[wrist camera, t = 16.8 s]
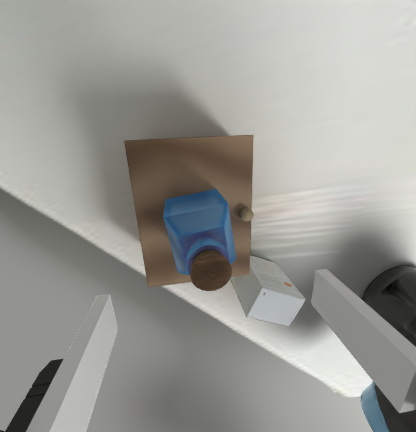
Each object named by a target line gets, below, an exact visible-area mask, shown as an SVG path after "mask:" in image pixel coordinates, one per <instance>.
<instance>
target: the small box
mask: <svg viewBox="0 0 416 432" xmlns="http://www.w3.org/2000/svg"><path fill="white" fill-rule="evenodd" d="M230 279H231V281H232V284H233V286H234V289H235V291H236V293H237V296H238V298H239V301H240V303H241V305H242V308H243V310H244V312H245V315H246V317H248V318H253V319H257V320H262V321H267V322H271V323H275V324H280V325H284V326H289V325H290V324H291V323H292V321H293V319H294V318H295V316H296V315H297V313H298V312H299V310H300V308H301V307H302V305H303V304H304V302H305V300H306V299H305V297H304V296H303V295H302V294H301V293H300V291H299V290H298V289H297V288H296V286H295V285H294V284H293V283H292V282H291V280H290V279H289V278H288V277H287V276H286V274H285V273H284V272H283V271H282V269H281V268H280V267H279V266H278V265H277V263H274V262H271V261H268V260H264V259H261V258H258V257H255V256H252V255H250V275H243V276H235V277H231V278H230Z"/></svg>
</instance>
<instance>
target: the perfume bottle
mask: <svg viewBox="0 0 416 432" xmlns="http://www.w3.org/2000/svg"><path fill="white" fill-rule="evenodd" d="M163 218H164V222H165V226H166V229H167V233H168V237H169V241H170V244H171V248H172V252H173V256H174V259H175V263H176V267H177V270H178V273H181V274H185V275H190V278H191V281H192V283H193V284H194V285H195V286H196V287H197V288H199V289H201V290H205V291H213V290H217V289H220V288H222V287H223V286H224V285H226V284H227V282H228V281H229V280H230V278H231V275H232V267H231V264H232V263H233V262H234V261H235V260H236V253H235V246H234V240H233V233H232V226H231V220H230V213H229V206H228V203H227V201H226V200H225V199H224V198H223V196H222V195H221V194H220V193H219V191H218V190H217V189H212V190H208V191H203V192H198V193H193V194H189V195H184V196H179V197H174V198H170V199H166V200H165V207H164V215H163Z"/></svg>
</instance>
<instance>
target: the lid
mask: <svg viewBox="0 0 416 432" xmlns="http://www.w3.org/2000/svg"><path fill="white" fill-rule="evenodd" d="M124 142H125V148H126V155H127V161H128V167H129V173H130V179H131V185H132V191H133V197H134V203H135V210H136V216H137V222H138V228H139V234H140V240H141V246H142V252H143V259H144V265H145V271H146V277H147V283H148V287H154V286H162V285H170V284H178V283H186V282H192V281H191V278H190V275H185V274H181V273H178V270H177V267H176V263H175V259H174V256H173V252H172V248H171V244H170V241H169V237H168V233H167V229H166V226H165V222H164V218H163V215H164V207H165V200H166V199H170V198H174V197H179V196H184V195H189V194H193V193H198V192H203V191H208V190H212V189H217V190H218V191H219V193H220V194H221V195H222V196H223V198H224V199H225V200H226V201H227V203H228V206H229V213H230V220H231V226H232V233H233V240H234V246H235V253H236V260H235V261H234V262H233V263H232V264H231V267H232V275H231V277H235V276H243V275H250V240H251V219H252V218H253V212H252V211H251V203H252V167H253V135H236V136H214V137H193V138H171V139H149V140H127V141H124Z"/></svg>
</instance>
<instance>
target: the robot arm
mask: <svg viewBox="0 0 416 432" xmlns="http://www.w3.org/2000/svg"><path fill="white" fill-rule="evenodd" d="M311 304H312V306H313V307H314V308H315V309H316V311H317V312H318V313H319V314H320V316H321V317H322V318H323V319H324V320H325V322H326V323H327V324H328V325H329V327H330V328H331V329H332V330H333V332H334V333H335V334H336V335H337V337H338V338H339V339H340V340H341V342H342V343H343V344H344V345H345V347H346V348H347V349H348V350H349V351H350V353H351V354H352V355H353V356H354V358H355V359H356V360H357V361H358V363H359V364H360V365H361V366H362V368H363V369H364V370H365V371H366V373H367V374H368V375H369V376H370V378H371V379H372V380H373V382H372V384H371V385H370V386H369V387H367V388H366V389H365V390H364V391H363V392H362V394H361V404H362V409H363V411H364V414H365V416H366V419H367V421H368V423H369V425H370V427H371V429H372V430H373V432H416V268H415V267H412V266H399V267H395V268H392V269H390V270H388V271H386V272H384V273H383V274H381V275H380V276H378V277H377V278H376V279H375V280H374V281H373V282H372V283H371V284H370V286H369V287H368V288H367V290H366V292H365V294H364V297H363V300H362V299H360V298H359V297H358V296H357V295H356V294H355V293H354V292H352V291H351V290H350V289H349V288H348V287H347V286H346V285H344V284H343V283H342V282H341V281H340V280H339V279H338V278H336V277H335V276H334V275H333V274H332V273H331V272H330V271H328V270H327V269H319V270H316V271H315V278H314V285H313V292H312V299H311ZM117 331H118V327H117V322H116V318H115V314H114V310H113V306H112V301H111V297H110V294H105V295H97V296H96V298H95V299H94V301H93V303H92V305H91V307H90V309H89V311H88V313H87V315H86V317H85V319H84V321H83V322H82V325H81V326H80V328H79V330H78V332H77V334H76V336H75V338H74V340H73V342H72V344H71V346H70V348H69V349H68V351H67V353H66V355H65V358H64V359H59V360H53V361H50V362H49V363H48V365H47V366H46V367H45V368H44V369H43V370H42V371H41V372H40V373H39V375H38V377H37V378H36V380H35V382H34V383H33V385H32V388H30V390H29V392H28V393H27V395H26V398H25V399H24V400H23V402H22V404H21V405H20V407H19V409H18V411H17V412H16V414H15V416H14V417H13V419H12V421H11V422H10V424H9V426H8V427H7V429H6V431H5V432H86V430H87V427H88V424H89V421H90V418H91V414H92V411H93V408H94V405H95V402H96V398H97V395H98V392H99V389H100V385H101V382H102V379H103V376H104V373H105V370H106V366H107V363H108V360H109V357H110V354H111V350H112V347H113V344H114V341H115V337H116V334H117ZM0 432H4V431H1V430H0Z"/></svg>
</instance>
